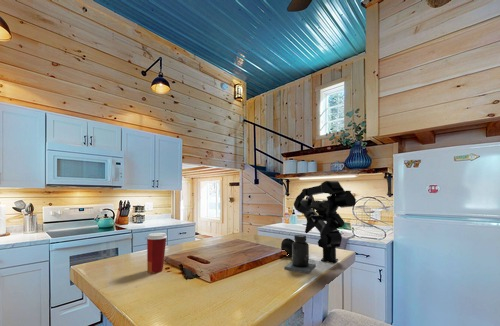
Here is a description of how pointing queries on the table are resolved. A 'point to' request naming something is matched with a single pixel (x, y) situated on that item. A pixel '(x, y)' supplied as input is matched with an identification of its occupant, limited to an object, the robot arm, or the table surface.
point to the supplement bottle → (300, 251)
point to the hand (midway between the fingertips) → (313, 233)
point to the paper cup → (155, 252)
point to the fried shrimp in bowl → (287, 246)
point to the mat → (300, 268)
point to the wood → (189, 274)
